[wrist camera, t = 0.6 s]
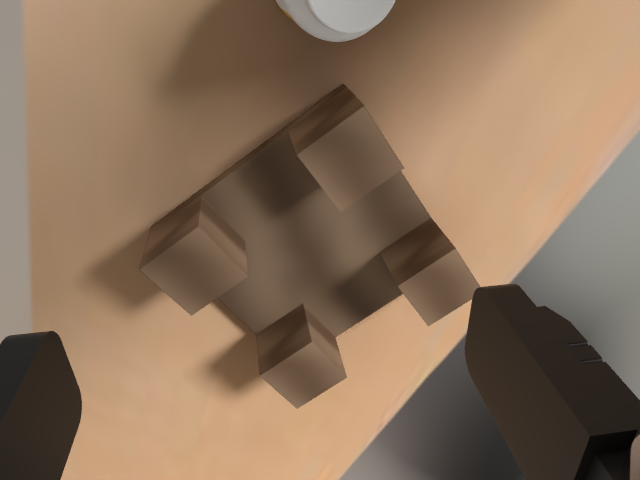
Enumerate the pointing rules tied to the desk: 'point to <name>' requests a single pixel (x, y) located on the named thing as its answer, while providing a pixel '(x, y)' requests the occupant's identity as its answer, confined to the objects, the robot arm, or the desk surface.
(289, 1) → the supplement bottle
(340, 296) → the cross slot block
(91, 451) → the desk surface
